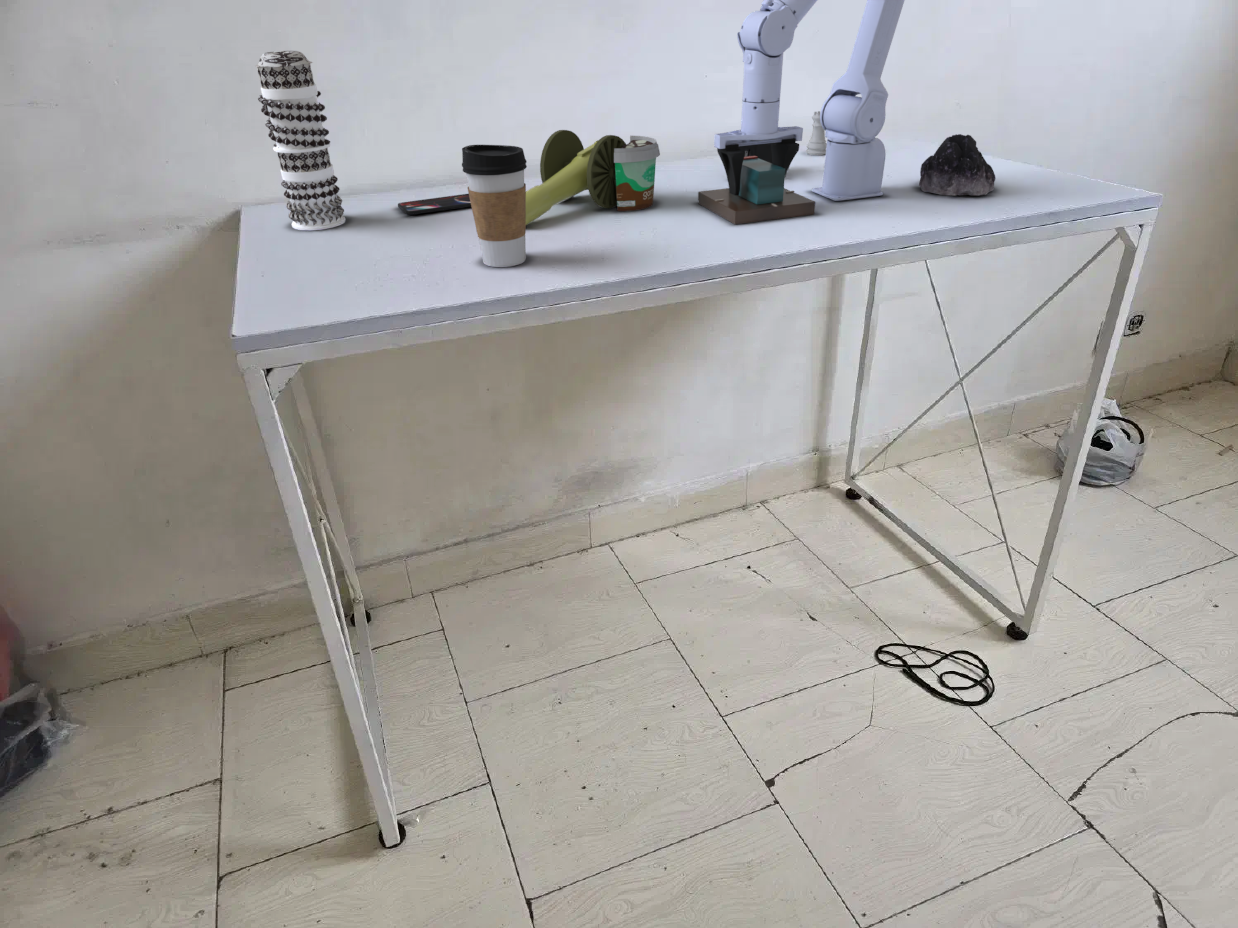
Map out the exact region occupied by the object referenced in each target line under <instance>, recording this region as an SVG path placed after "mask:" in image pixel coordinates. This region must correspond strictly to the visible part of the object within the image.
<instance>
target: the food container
mask: <svg viewBox="0 0 1238 928" xmlns="http://www.w3.org/2000/svg"><path fill="white" fill-rule="evenodd" d="M660 156H661V151H660V147H659V144H658V142H657V139H656V138H653V137H651V136H646V135H645V136H644V135H630V136H629V142H628V143H626V144H625V145H623V147H622V148H614V163H615V174H616V193H617V206H616V207H617V209H616V211H617V212H634V211H640V210H641V211H642V210H645V209H648V208H651V207H653V205H654V196H655V195H654V194H655V181H656V167H657V166H656V163H657V158H659V157H660Z"/></svg>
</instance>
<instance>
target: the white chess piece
mask: <svg viewBox="0 0 1238 928" xmlns="http://www.w3.org/2000/svg"><path fill="white" fill-rule="evenodd" d="M820 112H821V110H818V111H814V112H813V115H812V116H811V119H812V120H813V123H812V124H811V126H812V132H811V135H810V139H809V141H808V143H807V144H806V148H807V149H806V150H805V153H806V154H807V155H809V156H823V155H825V156H826V146H827V139H826V137H825V133H826V131H825V130H824V129H823V127H822V125H821V122H820Z"/></svg>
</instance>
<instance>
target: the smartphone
mask: <svg viewBox="0 0 1238 928" xmlns="http://www.w3.org/2000/svg"><path fill="white" fill-rule="evenodd" d="M397 207H398V209H400V210H401V211H402V212H403V213H404V214H405V215H407V216H412V215H419V214H427V213H434V212H435V213H436V212H441V211H448V210H455V209H463V208H472V207H471V202H470V197H469V193H463V194H462V193H461V194H455V195H448V196H439V197H432V198H425V199H417V200H410V201H403V202H398V203H397Z"/></svg>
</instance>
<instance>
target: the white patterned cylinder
mask: <svg viewBox="0 0 1238 928" xmlns="http://www.w3.org/2000/svg"><path fill="white" fill-rule="evenodd" d="M311 64H313V61H310V60H309V59H308V58H307V57H306V56H305V54H304V53H303V52H302V51H299V50H277V51H275V50H274V51H267V52H264V53H262V54H261V55H260V57H259V61H258V63H257V64H255V65H254V66H255V67H256V71H257V74H258V78H259V81H260V93H261V94H260V95H259V96H258V98H257V100H258V102H259V103H261V104H262V107H261V109H260V112H261V113H263V115H264V116H267V117H268V118H267V119H266V122H265V123H264V125H265V127H266V128H268V130H269V133H268V134H267V135H268V137H269V138H270V140H271V141H274V142H275V143H274V144H273V147H272V150H273V151H274V152H275V153H277V158H278V161H279V166H280V171H279V172H280V175H281V180H282V182H281V183H280V184H281V187H283V188H284V189H286V190H285V191H284V192H283V196H284V197H285V198H286V199H288V201H287V202H286V205H285V206H286V207H285V208H286V209H287V210H288V211H289V212H288V218H289V219H290V220H291V221H292V222H291V227H292V229H294V230H299V231H320V230H326V229H332V228H336V227H339V226H342V225H343V224H345V223H346V217H345V216H344V213H345V209H344V207H342V203H343V198H341V196H340V195H338V193H339V192H340V190H341V189H340V187H339V186H338V185H336V183H337V182H338V181H339V180H338V177H337V176H336V175H335V170H334V165H333V164H332V162H331V158H330V153H329V148H330V146H331V141H330V140H329V139H327V136H328V135H329V134H330V131H329V129H327V128H325V127H324V126H323V124H324V123H325V122H326V121H327V120H328V117H327V116H326V115H325V114H323V111H324V110H325V109H326V106H325V104H322V103H321V102H320V101H319V102H318V99H319V97H320V96H321V95H322V93H321V91H320V90H318V88H317V84H316V83H315V81H314V74H313V71H312V66H311Z"/></svg>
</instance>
